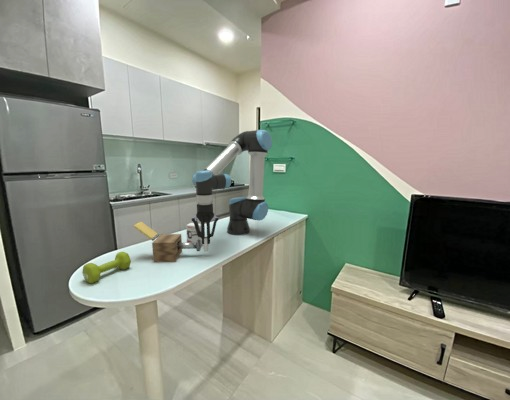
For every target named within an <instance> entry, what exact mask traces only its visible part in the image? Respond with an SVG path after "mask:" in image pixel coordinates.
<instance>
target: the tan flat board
mask: <svg viewBox="0 0 510 400" xmlns="http://www.w3.org/2000/svg"><path fill="white" fill-rule="evenodd" d="M132 227H133V228H134V229H136V230H137V231H139V232H140V233H142V235H144V236H145V237H147V238H148V239H150V240H151V241H152V242H154V241H155V240H156V239H157V238H158V237H159V236H160V234H159V233H157V232H156V231H155V230H153V229H152V228H151V227H150V226H148V225H147V224H145V223H144V222H143V221H139V222H138V223H137V222H136V223H135V224H134V225H133V226H132Z"/></svg>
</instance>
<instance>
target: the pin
mask: <svg viewBox="0 0 510 400" xmlns="http://www.w3.org/2000/svg"><path fill="white" fill-rule="evenodd" d="M201 248H202V246H201V240H197V242H188V243H187V242H182V243H177V249H182V250H184V249H185V250H188V249H189V250H193V249H196V252H200V251H201Z"/></svg>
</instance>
